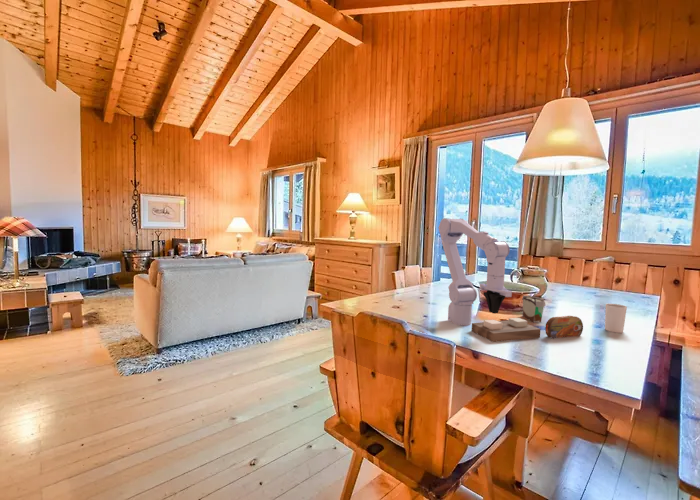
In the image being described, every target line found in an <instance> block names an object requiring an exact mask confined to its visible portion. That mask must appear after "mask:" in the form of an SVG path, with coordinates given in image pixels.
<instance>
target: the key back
mask: <svg viewBox="0 0 700 500" xmlns="http://www.w3.org/2000/svg"><path fill="white" fill-rule="evenodd" d="M508 320H509V324H510V325H512V326H515V327H517V328H518V327H527V324H528V320H526V319H524V318H520V317H510V318H508Z"/></svg>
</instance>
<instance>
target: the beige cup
mask: <svg viewBox="0 0 700 500" xmlns="http://www.w3.org/2000/svg"><path fill="white" fill-rule="evenodd" d="M627 308H628V307H627V306H626V305H623V304H617V303H605V311H604V313H605V317H604V318H605V319H604V330H606V331H607V332H610V333H611V332H612V333H619V334H620V333H621V334H622V333H624V330H625V323H626V322H625V321H626V315H627V314H626V313H627Z"/></svg>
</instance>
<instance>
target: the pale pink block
mask: <svg viewBox="0 0 700 500" xmlns="http://www.w3.org/2000/svg"><path fill="white" fill-rule="evenodd" d="M499 321H500V320H496V319H486V320H483V322H484V327H487V328H489V329H491V330H495V329H502V323H501V322H499Z"/></svg>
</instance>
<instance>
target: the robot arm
mask: <svg viewBox="0 0 700 500" xmlns="http://www.w3.org/2000/svg"><path fill="white" fill-rule="evenodd" d="M438 232H439V235H440V238H441V243H442V247H443V251H444V254H445V259H446V261H447V265H448V269H449V274H450V278H451V281H452V282H451V283H450V284H449V286H448V292H449V293H448V296H449V297H448V298H449V300H450V301H451V302H449V304H448V308H447V309H448V310H447V320H445V321H446V322H449V321H450V322H451V323H452V324H454V325H457V326H472V311H473V305H474V302H476V300H477V297H478V293H477V290H476V289H475V287H474V285H473V282H472V281H471V280H469V279H467V277H466V274H465V270H464V266H463V263H462V262H463V261H462V258H461V256H460V251H459V250H458V249H459V248H458V245H457V242H458V241H459V240H460V239H461V237H462V236H463V235H465V236H467V237H469V238H470V239H472V240H473V244H474V245H475V246H476V247H478V248H479V249H481V250H482V251H484V254H485V256H486V262H487V267H486V269H487V270H486V271H487V272H486V283H479V290H485V291H486V292H485V291H484V292H483V296H484V298H485V300H486V303H487V307H488V311H489V313H492V314H498V313H499V310H500V308H501V305H502V304H503V302H504V300H505V299H506V298H512V295H513V291H512V290H509V289H507V288H506V287H505V286H504V285H505V270H506V268H505V267H506V257H508V256H509V254H510V245H509V244H508V243H507V242H506V241H504V240H501V241H500V240H498V238H496V237H493V236H491V235H490V234H489V232H488V231H484V230H483V231H478V230H477V229H475V227H473V226H472V225H470V224H469V223H468V221H467V220H465V219H464V218H448V217H446V218H442V219H441V220H440V221H439V225H438Z"/></svg>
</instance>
